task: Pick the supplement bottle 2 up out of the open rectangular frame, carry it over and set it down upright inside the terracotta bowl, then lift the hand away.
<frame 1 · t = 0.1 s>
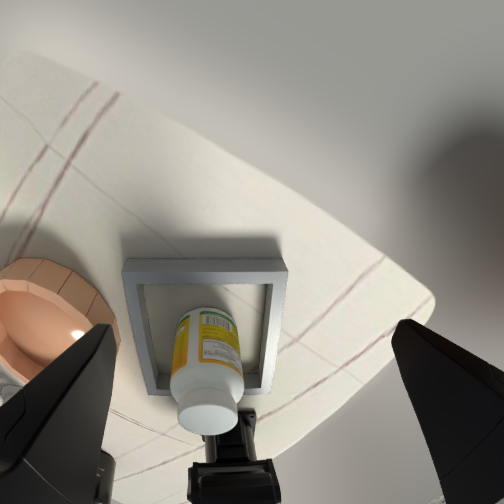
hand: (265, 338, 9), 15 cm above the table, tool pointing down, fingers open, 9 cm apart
supplement bottle 2: (206, 328, 27), resting in open rectangular frame
supplement bottle: (95, 455, 37), on the table
open rectangular frame: (206, 330, 27), on the table
bowl: (52, 324, 25), on the table
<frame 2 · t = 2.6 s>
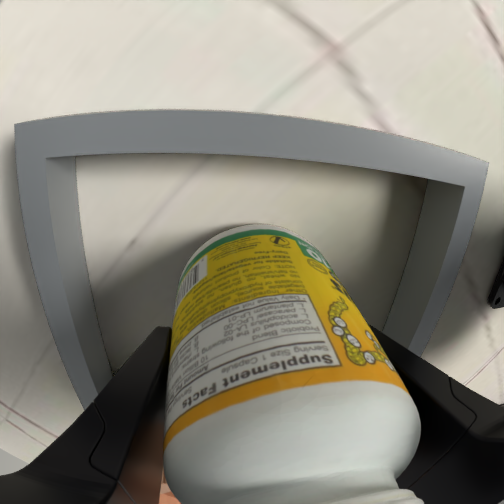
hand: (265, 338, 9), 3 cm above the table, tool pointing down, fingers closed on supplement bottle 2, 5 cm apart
supplement bottle 2: (254, 288, 11), resting in open rectangular frame, touching gripper
open rectangular frame: (255, 291, 11), on the table
bowl: (234, 469, 18), on the table
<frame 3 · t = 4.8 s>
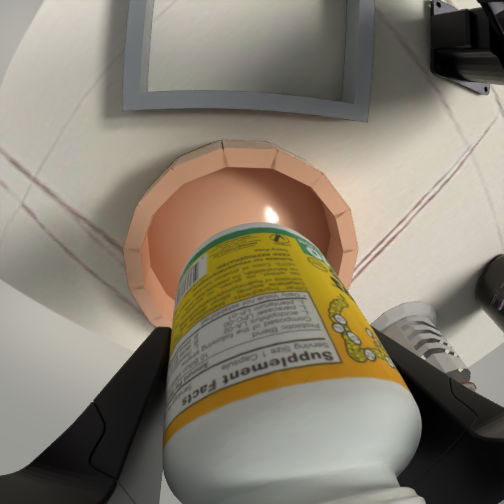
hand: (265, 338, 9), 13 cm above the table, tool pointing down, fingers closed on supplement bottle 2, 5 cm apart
french press: (401, 342, 29), on the table
supplement bottle 2: (254, 286, 11), point 10 cm above the table, touching gripper
supplement bottle: (492, 279, 27), on the table
open rectangular frame: (252, 18, 15), on the table
bowl: (239, 244, 22), on the table
when the fingers open (5 cm above the table, at t = 7.2 s): supplement bottle 2 drops 1 cm, resting on bowl.
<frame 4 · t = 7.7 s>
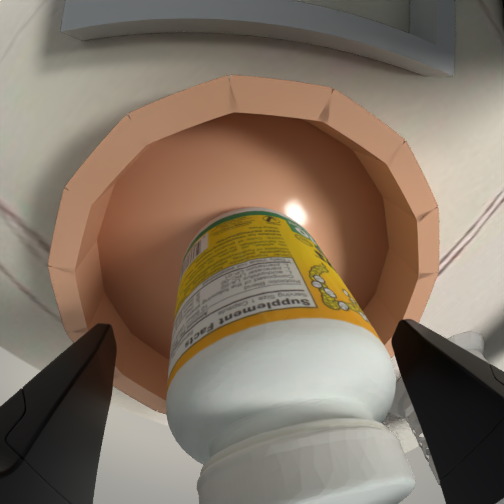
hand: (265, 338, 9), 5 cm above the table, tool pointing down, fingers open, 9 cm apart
french press: (441, 379, 21), on the table
supplement bottle 2: (250, 267, 13), point 1 cm above the table, touching bowl
bowl: (246, 259, 13), on the table
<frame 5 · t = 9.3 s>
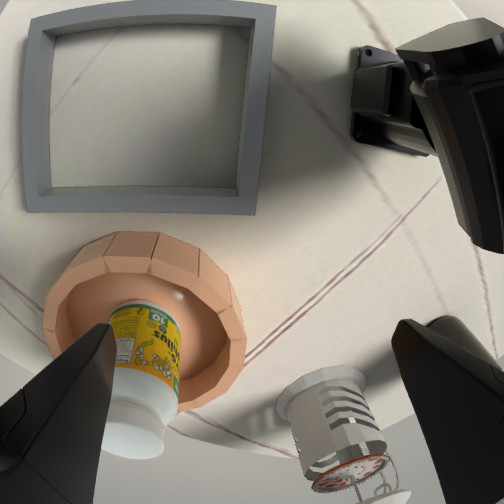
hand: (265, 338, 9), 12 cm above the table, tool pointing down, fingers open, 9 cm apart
french press: (327, 398, 30), on the table
supplement bottle 2: (145, 326, 21), point 1 cm above the table, touching bowl
supplement bottle: (433, 338, 29), on the table
open rectangular frame: (139, 103, 16), on the table
bowl: (145, 320, 22), on the table
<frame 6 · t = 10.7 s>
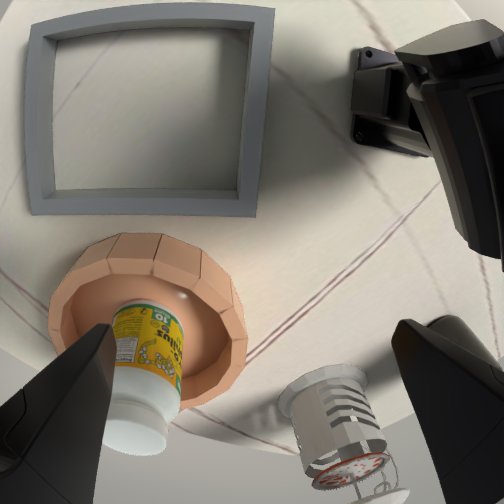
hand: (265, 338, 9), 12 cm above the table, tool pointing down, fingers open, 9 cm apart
french press: (329, 396, 30), on the table
supplement bottle 2: (148, 325, 22), point 1 cm above the table, touching bowl
supplement bottle: (435, 337, 29), on the table
open rectangular frame: (140, 107, 16), on the table
bowl: (149, 319, 23), on the table
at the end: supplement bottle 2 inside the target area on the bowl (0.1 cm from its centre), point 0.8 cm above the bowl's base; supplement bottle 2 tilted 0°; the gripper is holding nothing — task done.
